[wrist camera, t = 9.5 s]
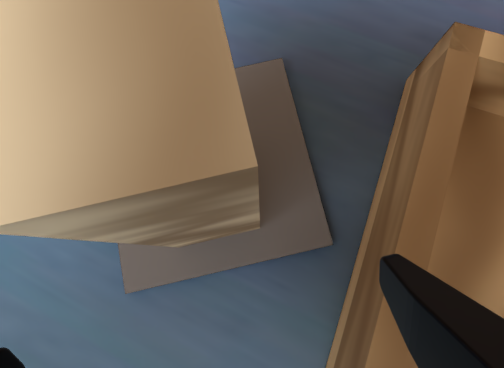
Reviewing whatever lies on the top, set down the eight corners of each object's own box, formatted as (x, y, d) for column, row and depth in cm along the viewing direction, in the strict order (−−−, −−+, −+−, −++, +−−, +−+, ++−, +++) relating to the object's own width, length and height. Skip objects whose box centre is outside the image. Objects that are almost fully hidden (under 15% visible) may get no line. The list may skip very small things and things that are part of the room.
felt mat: (129, 292, 17) (125, 293, 16) (100, 103, 19) (96, 99, 18) (331, 244, 17) (333, 244, 16) (281, 62, 19) (282, 58, 18)
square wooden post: (178, 247, 16) (-28, 232, 5) (160, 149, 17) (-48, -66, 6) (260, 228, 17) (258, 165, 5) (237, 131, 18) (189, -117, 6)
